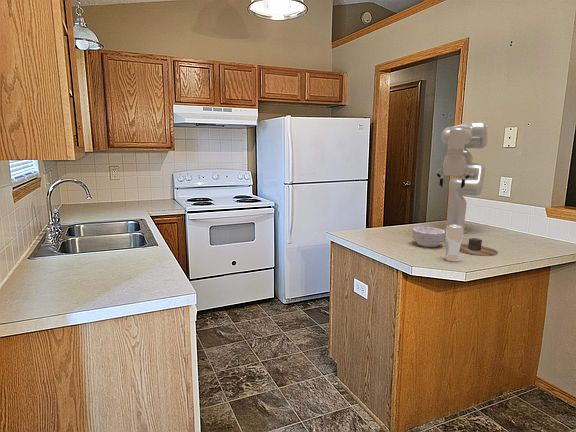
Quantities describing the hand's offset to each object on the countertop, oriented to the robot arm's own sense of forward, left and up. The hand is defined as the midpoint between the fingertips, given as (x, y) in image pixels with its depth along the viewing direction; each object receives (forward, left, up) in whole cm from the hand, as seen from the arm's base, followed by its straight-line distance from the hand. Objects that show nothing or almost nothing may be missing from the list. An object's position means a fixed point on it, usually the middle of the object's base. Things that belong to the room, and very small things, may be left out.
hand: (451, 187), depth 195 cm
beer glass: (+24, +24, -29) cm, 45 cm away
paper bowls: (+14, +1, -29) cm, 32 cm away
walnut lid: (0, +17, -29) cm, 34 cm away
